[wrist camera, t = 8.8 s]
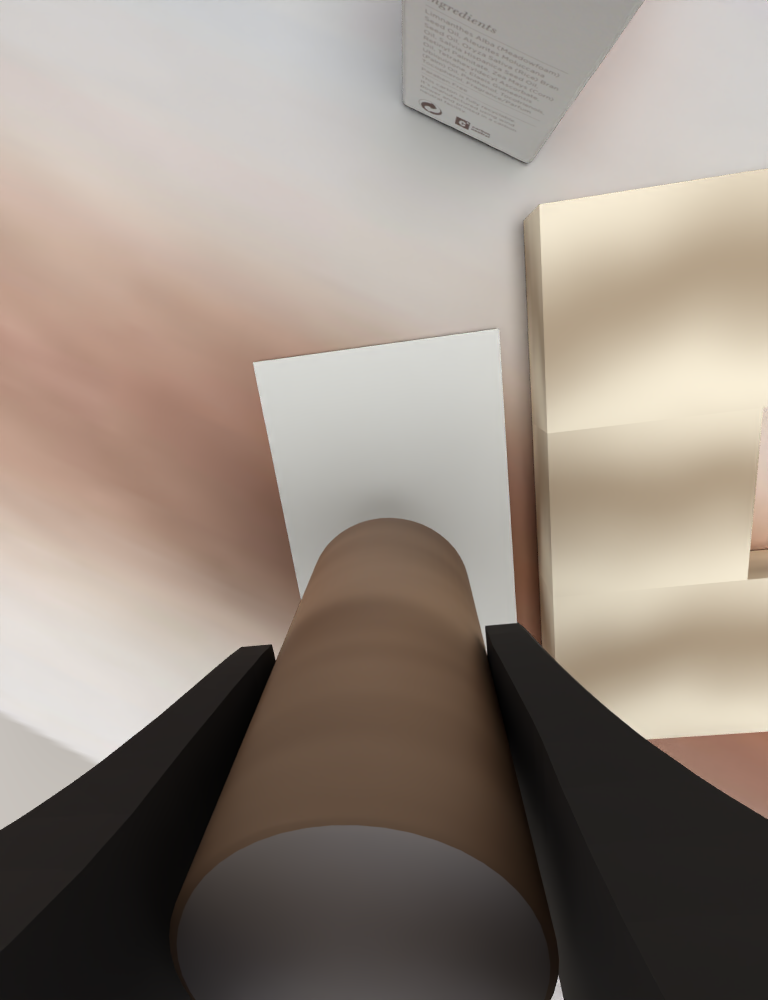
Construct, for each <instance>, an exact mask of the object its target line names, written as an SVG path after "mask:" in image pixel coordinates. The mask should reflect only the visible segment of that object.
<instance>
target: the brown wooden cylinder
mask: <svg viewBox="0 0 768 1000" xmlns="http://www.w3.org/2000/svg"><path fill="white" fill-rule="evenodd" d="M169 941H170V951H171V956H172V960H173V963H174V967H175V970H176V972H177V974H178V977H179V979H180V981H181V983H182V985H183V987H184V988H185V990H186V991H187V993H188V994H189V996H190V997H191V999H192V1000H551V998H552V996H553V994H554V990H555V986H556V983H557V979H558V972H559V953H558V946H557V939H556V935H555V931H554V927H553V923H552V919H551V915H550V911H549V907H548V902H547V898H546V894H545V890H544V886H543V882H542V878H541V874H540V870H539V866H538V861H537V857H536V853H535V849H534V845H533V841H532V837H531V833H530V829H529V824H528V820H527V816H526V812H525V808H524V804H523V800H522V796H521V792H520V788H519V783H518V779H517V775H516V771H515V767H514V763H513V759H512V755H511V751H510V746H509V742H508V738H507V734H506V730H505V726H504V722H503V718H502V714H501V710H500V705H499V701H498V697H497V694H496V690H495V686H494V681H493V677H492V673H491V669H490V665H489V661H488V657H487V652H486V648H485V644H484V640H483V636H482V632H481V627H480V623H479V619H478V615H477V611H476V607H475V603H474V599H473V595H472V590H471V586H470V582H469V578H468V574H467V571H466V568H465V565H464V563H463V561H462V559H461V557H460V556H459V554H458V553H457V551H456V550H455V548H454V547H453V546H452V545H451V544H450V543H449V542H448V541H447V540H446V539H445V538H444V537H443V536H441V535H440V534H439V533H437V532H436V531H434V530H433V529H431V528H429V527H427V526H425V525H423V524H420V523H417V522H414V521H411V520H406V519H400V518H378V519H372V520H367V521H364V522H361V523H358V524H356V525H354V526H351V527H349V528H348V529H346V530H344V531H343V532H341V533H340V534H339V535H337V536H336V537H335V538H334V539H333V540H332V541H331V542H330V543H329V544H328V545H327V546H326V548H325V549H324V550H323V552H322V553H321V555H320V557H319V559H318V561H317V563H316V565H315V568H314V570H313V573H312V575H311V578H310V580H309V582H308V585H307V587H306V590H305V592H304V594H303V597H302V599H301V602H300V604H299V606H298V609H297V611H296V614H295V616H294V619H293V621H292V623H291V626H290V628H289V631H288V633H287V635H286V638H285V640H284V643H283V645H282V647H281V650H280V652H279V655H278V657H277V659H276V662H275V664H274V667H273V669H272V672H271V674H270V676H269V679H268V681H267V684H266V686H265V688H264V691H263V693H262V696H261V698H260V700H259V703H258V705H257V708H256V710H255V713H254V715H253V717H252V720H251V722H250V725H249V727H248V729H247V732H246V734H245V737H244V739H243V741H242V744H241V746H240V749H239V751H238V754H237V756H236V758H235V761H234V763H233V766H232V768H231V770H230V773H229V775H228V778H227V780H226V782H225V785H224V787H223V790H222V792H221V795H220V797H219V799H218V802H217V804H216V807H215V809H214V811H213V814H212V816H211V819H210V821H209V823H208V826H207V828H206V831H205V833H204V836H203V838H202V840H201V843H200V845H199V848H198V850H197V852H196V855H195V857H194V860H193V862H192V864H191V867H190V869H189V872H188V874H187V877H186V879H185V881H184V884H183V886H182V889H181V891H180V893H179V896H178V898H177V901H176V903H175V907H174V910H173V913H172V917H171V921H170V932H169Z"/></svg>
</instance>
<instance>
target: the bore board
mask: <svg viewBox="0 0 768 1000" xmlns="http://www.w3.org/2000/svg"><path fill="white" fill-rule="evenodd" d="M523 224H524V247H525V270H526V292H527V315H528V338H529V361H530V383H531V406H532V429H533V452H534V474H535V497H536V520H537V542H538V565H539V588H540V611H541V633H542V647H543V648H544V649H545V650H546V651H547V652H548V653H549V654H550V655H551V656H552V657H553V658H554V659H555V660H556V661H557V662H558V663H559V664H560V665H561V666H562V667H563V668H564V669H565V670H566V671H567V672H568V673H569V674H570V675H571V676H572V677H573V678H574V679H575V680H577V681H578V682H579V683H580V684H581V685H582V686H583V687H584V688H585V689H586V690H587V691H589V692H590V693H591V694H592V695H593V696H594V697H595V698H596V699H597V700H599V701H600V702H601V703H602V704H603V705H604V706H606V707H607V708H608V709H609V710H610V711H611V712H613V713H614V714H615V715H616V716H618V717H619V718H620V719H621V720H622V721H624V722H625V723H626V724H627V725H629V726H630V727H631V728H632V729H633V730H635V731H636V732H637V733H639V734H640V735H641V736H642V737H644V738H645V739H661V738H676V737H691V736H706V735H721V734H736V733H751V732H766V731H768V549H766V550H756V551H750V545H751V535H752V524H753V513H754V502H755V491H756V480H757V470H758V459H759V448H760V437H761V426H762V416H763V408H766V407H768V168H767V169H761V170H754V171H748V172H742V173H735V174H729V175H723V176H716V177H710V178H704V179H697V180H691V181H685V182H678V183H672V184H666V185H659V186H653V187H647V188H641V189H634V190H628V191H622V192H615V193H609V194H603V195H596V196H590V197H584V198H577V199H571V200H565V201H558V202H552V203H546V204H539V205H538V206H537V207H536V208H535V210H534V211H533V212H532V213H531V214H530V215H529V216H528V217H527V218H526V219H525V220H524V221H523Z"/></svg>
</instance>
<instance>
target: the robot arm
mask: <svg viewBox="0 0 768 1000" xmlns="http://www.w3.org/2000/svg"><path fill="white" fill-rule="evenodd" d="M485 633H486V645H487V657H488V661H489V665H490V669H491V673H492V677H493V681H494V686H495V690H496V694H497V697H498V701H499V705H500V710H501V714H502V718H503V722H504V726H505V730H506V734H507V738H508V742H509V746H510V751H511V755H512V759H513V763H514V767H515V771H516V775H517V779H518V783H519V788H520V792H521V796H522V800H523V804H524V808H525V812H526V816H527V820H528V824H529V829H530V833H531V837H532V841H533V845H534V849H535V853H536V857H537V861H538V866H539V870H540V874H541V878H542V882H543V886H544V890H545V894H546V898H547V902H548V907H549V911H550V915H551V919H552V923H553V927H554V931H555V935H556V939H557V946H558V953H559V972H558V974H559V979H560V984H561V988H562V993H563V998H564V1000H768V819H766V818H764V817H763V816H761V815H759V814H758V813H756V812H755V811H753V810H751V809H750V808H748V807H746V806H745V805H743V804H741V803H740V802H738V801H736V800H735V799H733V798H731V797H730V796H728V795H727V794H725V793H723V792H722V791H720V790H719V789H717V788H716V787H714V786H713V785H711V784H709V783H708V782H706V781H705V780H703V779H702V778H700V777H699V776H697V775H696V774H694V773H693V772H691V771H690V770H689V769H687V768H686V767H684V766H683V765H681V764H680V763H679V762H677V761H676V760H674V759H673V758H671V757H670V756H669V755H667V754H666V753H664V752H663V751H661V750H660V749H659V748H657V747H656V746H654V745H653V744H652V743H650V742H649V741H648V740H646V739H645V738H644V737H642V736H641V735H640V734H639V733H637V732H636V731H635V730H633V729H632V728H631V727H630V726H629V725H627V724H626V723H625V722H624V721H622V720H621V719H620V718H619V717H618V716H616V715H615V714H614V713H613V712H611V711H610V710H609V709H608V708H607V707H606V706H604V705H603V704H602V703H601V702H600V701H599V700H597V699H596V698H595V697H594V696H593V695H592V694H591V693H590V692H589V691H587V690H586V689H585V688H584V687H583V686H582V685H581V684H580V683H579V682H578V681H577V680H575V679H574V678H573V677H572V676H571V675H570V674H569V673H568V672H567V671H566V670H565V669H564V668H563V667H562V666H561V665H560V664H559V663H558V662H557V661H556V660H555V659H554V658H553V657H552V656H551V655H550V654H549V653H548V652H547V651H546V650H545V649H544V648H543V647H542V646H541V645H540V644H539V643H538V642H537V641H536V640H535V639H534V638H533V637H532V635H531V634H530V633H529V632H528V631H527V630H526V629H525V628H524V627H523V626H522V625H520V624H519V623H510V624H499V625H488V626H485ZM275 662H276V660H275V656H274V652H273V647H272V644H271V645H260V646H249V647H241V648H240V649H238V650H237V651H235V652H234V653H233V654H232V655H230V656H229V657H228V658H227V659H225V660H224V661H223V662H222V663H221V664H219V665H218V666H217V667H216V668H215V669H213V670H212V671H211V672H210V673H209V674H208V675H206V676H205V677H204V678H203V679H202V680H201V681H200V682H198V683H197V684H196V685H195V686H194V687H193V688H191V689H190V690H189V691H188V692H187V693H185V694H184V695H183V696H182V697H181V698H180V699H178V700H177V701H176V702H175V703H174V704H173V705H171V706H170V707H169V708H168V709H167V710H166V711H164V712H163V713H162V714H161V715H160V716H158V717H157V718H156V719H155V720H153V721H152V722H151V723H150V724H148V725H147V726H146V727H145V728H143V729H142V730H141V731H140V732H138V733H137V734H136V735H134V736H133V737H132V738H131V739H129V740H128V741H127V742H126V743H124V744H123V745H122V746H121V747H119V748H118V749H117V750H115V751H114V752H113V753H112V754H110V755H109V756H108V757H107V758H105V759H104V760H103V761H101V762H100V763H99V764H97V765H96V766H95V767H93V768H92V769H91V770H89V771H88V772H86V773H85V774H84V775H82V776H81V777H80V778H78V779H77V780H75V781H74V782H73V783H71V784H70V785H68V786H67V787H65V788H64V789H62V790H61V791H59V792H58V793H57V794H55V795H54V796H52V797H51V798H49V799H48V800H46V801H45V802H44V803H42V804H41V805H39V806H37V807H36V808H35V809H33V810H31V811H30V812H28V813H27V814H26V815H24V816H22V817H21V818H19V819H18V820H16V821H14V822H13V823H11V824H10V825H8V826H6V827H5V828H3V829H1V830H0V1000H192V999H191V997H190V996H189V994H188V993H187V991H186V990H185V988H184V987H183V985H182V983H181V981H180V979H179V977H178V974H177V972H176V970H175V967H174V963H173V960H172V956H171V951H170V941H169V932H170V921H171V917H172V913H173V910H174V907H175V903H176V901H177V898H178V896H179V893H180V891H181V889H182V886H183V884H184V881H185V879H186V877H187V874H188V872H189V869H190V867H191V864H192V862H193V860H194V857H195V855H196V852H197V850H198V848H199V845H200V843H201V840H202V838H203V836H204V833H205V831H206V828H207V826H208V823H209V821H210V819H211V816H212V814H213V811H214V809H215V807H216V804H217V802H218V799H219V797H220V795H221V792H222V790H223V787H224V785H225V782H226V780H227V778H228V775H229V773H230V770H231V768H232V766H233V763H234V761H235V758H236V756H237V754H238V751H239V749H240V746H241V744H242V741H243V739H244V737H245V734H246V732H247V729H248V727H249V725H250V722H251V720H252V717H253V715H254V713H255V710H256V708H257V705H258V703H259V700H260V698H261V696H262V693H263V691H264V688H265V686H266V684H267V681H268V679H269V676H270V674H271V672H272V669H273V667H274V664H275Z"/></svg>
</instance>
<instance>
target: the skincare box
mask: <svg viewBox="0 0 768 1000" xmlns="http://www.w3.org/2000/svg"><path fill="white" fill-rule="evenodd" d="M643 2H644V0H402V86H403V103H404V104H405V105H407V106H409V107H411V108H413V109H415V110H417V111H419V112H421V113H424V114H426V115H428V116H430V117H432V118H434V119H436V120H438V121H440V122H442V123H444V124H446V125H449V126H451V127H453V128H455V129H457V130H459V131H461V132H463V133H465V134H467V135H469V136H471V137H474V138H476V139H478V140H480V141H482V142H484V143H486V144H488V145H490V146H492V147H494V148H496V149H498V150H500V151H503V152H505V153H507V154H509V155H510V156H512V157H514V158H516V159H518V160H521V161H523V162H525V163H529V162H531V161H532V160H533V159H534V158H535V156H536V155H537V153H538V152H539V151H540V149H541V148H542V146H543V145H544V143H545V142H546V140H547V139H548V138H549V136H550V135H551V133H552V132H553V131H554V129H555V128H556V126H557V125H558V123H559V122H560V120H561V119H562V117H563V116H564V114H565V113H566V111H567V110H568V108H569V107H570V105H571V104H572V103H573V102H574V100H575V99H576V97H577V96H578V94H579V93H580V92H581V90H582V89H583V88H584V86H585V85H586V83H587V82H588V80H589V79H590V77H591V76H592V75H593V74H594V72H595V71H596V69H597V68H598V67H599V65H600V64H601V62H602V61H603V59H604V58H605V57H606V55H607V54H608V52H609V51H610V49H611V48H612V46H613V45H614V43H615V42H616V40H617V39H618V37H619V36H620V35H621V33H622V32H623V30H624V29H625V28H626V26H627V25H628V23H629V22H630V20H631V19H632V17H633V16H634V15H635V13H636V12H637V10H638V9H639V8H640V6H641V5H642V3H643Z"/></svg>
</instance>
